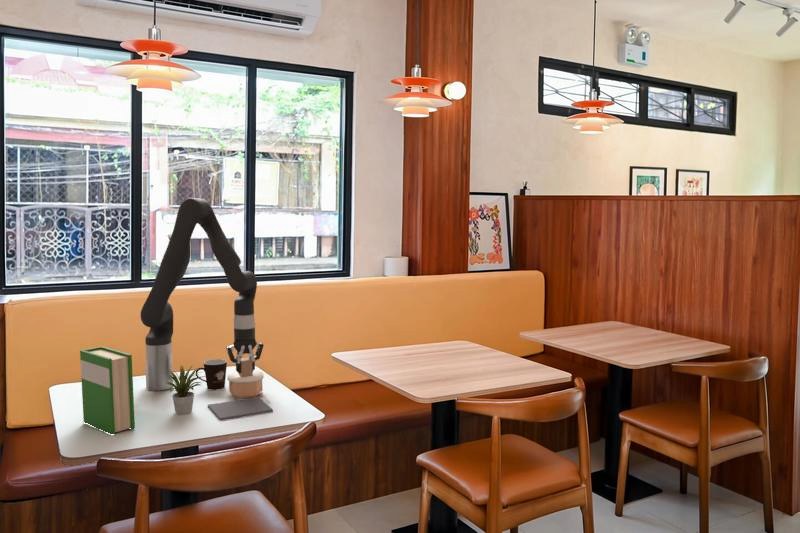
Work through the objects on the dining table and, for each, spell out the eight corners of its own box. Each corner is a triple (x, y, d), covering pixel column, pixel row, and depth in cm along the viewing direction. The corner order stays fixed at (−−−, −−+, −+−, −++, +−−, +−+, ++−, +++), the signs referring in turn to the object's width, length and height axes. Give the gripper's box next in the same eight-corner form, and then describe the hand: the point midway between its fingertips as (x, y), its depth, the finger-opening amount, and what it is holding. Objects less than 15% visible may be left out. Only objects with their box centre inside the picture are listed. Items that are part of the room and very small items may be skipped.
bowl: (235, 400, 237) (235, 384, 236) (227, 392, 246) (226, 376, 246) (265, 395, 242) (265, 379, 242) (256, 388, 252) (255, 372, 251)
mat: (219, 420, 216) (219, 418, 216) (207, 406, 230) (207, 404, 230) (273, 411, 225) (273, 409, 225) (258, 399, 239) (258, 396, 238)
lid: (233, 384, 235) (232, 365, 234) (223, 376, 246) (222, 357, 245) (268, 379, 241) (268, 361, 241) (257, 371, 253) (257, 353, 252)
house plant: (186, 423, 214) (184, 373, 212) (151, 417, 218) (149, 369, 217) (213, 409, 227) (211, 363, 225) (179, 405, 232) (178, 359, 230)
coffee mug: (226, 383, 258) (226, 358, 257) (228, 389, 250) (227, 363, 249) (195, 386, 254) (194, 360, 253) (196, 392, 246) (195, 366, 245)
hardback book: (134, 429, 208) (131, 354, 205) (112, 436, 202) (108, 359, 199) (106, 417, 219) (102, 346, 216) (83, 423, 213) (79, 350, 210)
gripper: (260, 322, 248) (261, 367, 250) (222, 326, 241) (223, 372, 243) (266, 326, 242) (267, 372, 244) (227, 330, 235) (229, 377, 237)
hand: (245, 371), depth 244 cm, fingers closed on lid, 4 cm apart
